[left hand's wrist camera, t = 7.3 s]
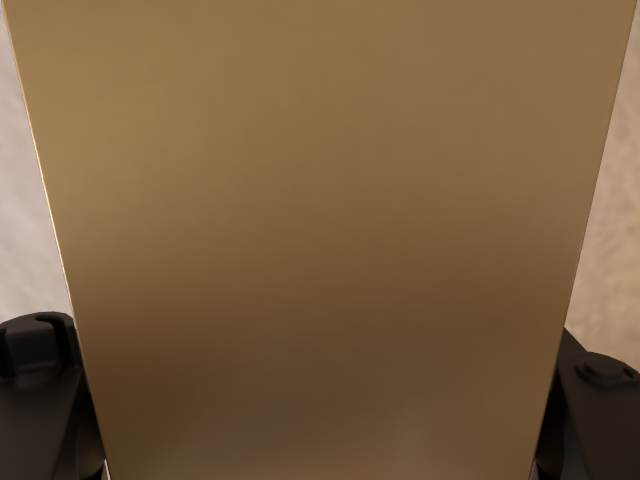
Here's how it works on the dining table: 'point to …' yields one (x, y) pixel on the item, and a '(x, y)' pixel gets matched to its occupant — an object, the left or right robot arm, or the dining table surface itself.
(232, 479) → the bar
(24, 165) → the dining table surface
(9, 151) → the dining table surface
